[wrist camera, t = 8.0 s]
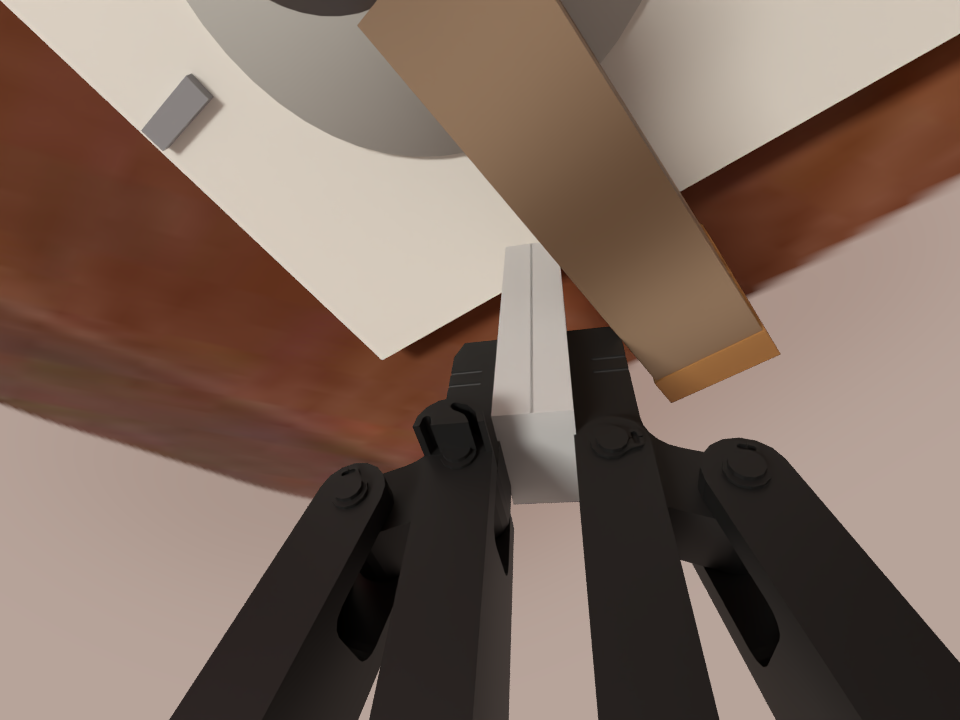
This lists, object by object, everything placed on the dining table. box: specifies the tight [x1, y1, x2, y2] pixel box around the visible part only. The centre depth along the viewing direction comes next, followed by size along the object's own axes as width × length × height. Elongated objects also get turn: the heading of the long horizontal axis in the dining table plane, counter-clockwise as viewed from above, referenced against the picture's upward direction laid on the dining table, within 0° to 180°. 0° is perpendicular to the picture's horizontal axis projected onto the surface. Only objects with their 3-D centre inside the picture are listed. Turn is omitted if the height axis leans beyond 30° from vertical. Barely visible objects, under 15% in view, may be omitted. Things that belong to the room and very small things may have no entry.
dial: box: [270, 0, 780, 403], centre depth 10 cm, size 14×4×6 cm, turn 41°
